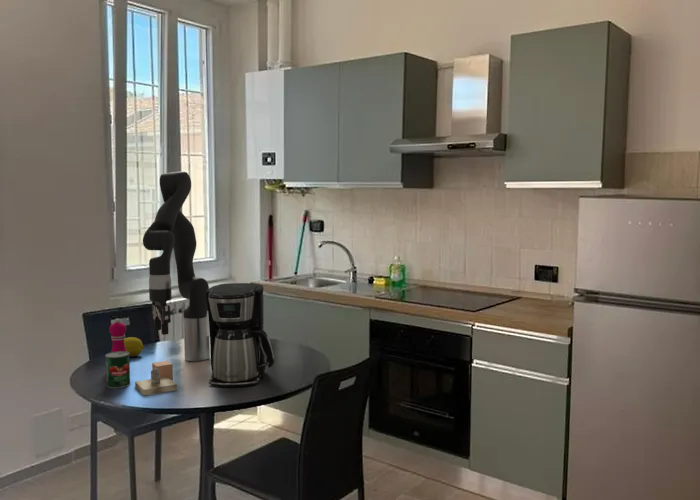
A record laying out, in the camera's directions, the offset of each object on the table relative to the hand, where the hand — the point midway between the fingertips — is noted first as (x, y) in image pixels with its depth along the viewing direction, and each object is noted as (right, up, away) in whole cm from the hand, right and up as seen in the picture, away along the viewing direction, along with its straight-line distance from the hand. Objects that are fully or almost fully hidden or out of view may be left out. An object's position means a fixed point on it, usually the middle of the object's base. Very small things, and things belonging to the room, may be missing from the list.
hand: (161, 332), depth 223 cm
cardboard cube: (0, -17, +2) cm, 18 cm away
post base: (0, -18, -8) cm, 20 cm away
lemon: (-23, -15, +35) cm, 45 cm away
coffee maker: (+29, -17, +7) cm, 34 cm away
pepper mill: (-20, -17, +14) cm, 30 cm away
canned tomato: (-14, -18, -3) cm, 23 cm away
